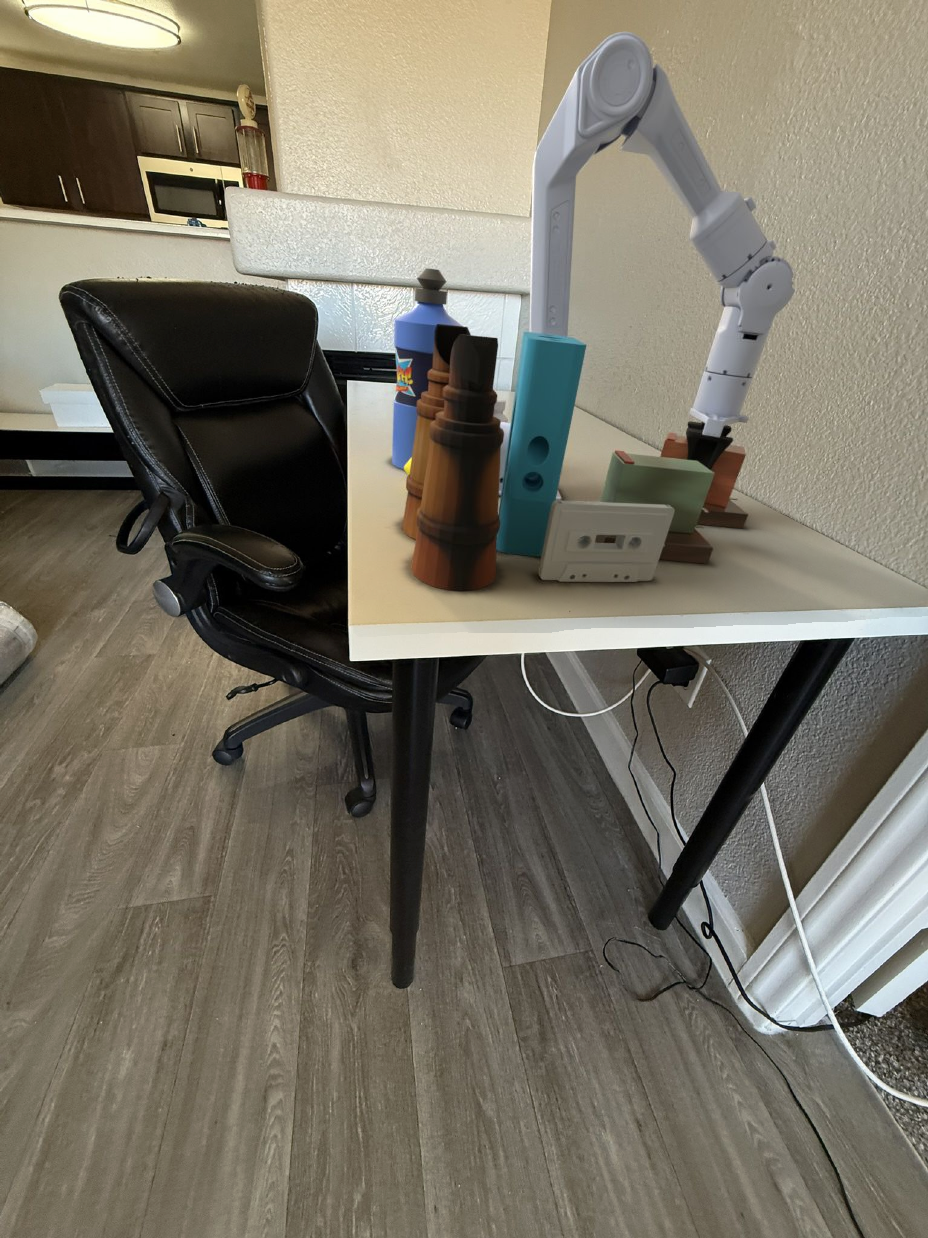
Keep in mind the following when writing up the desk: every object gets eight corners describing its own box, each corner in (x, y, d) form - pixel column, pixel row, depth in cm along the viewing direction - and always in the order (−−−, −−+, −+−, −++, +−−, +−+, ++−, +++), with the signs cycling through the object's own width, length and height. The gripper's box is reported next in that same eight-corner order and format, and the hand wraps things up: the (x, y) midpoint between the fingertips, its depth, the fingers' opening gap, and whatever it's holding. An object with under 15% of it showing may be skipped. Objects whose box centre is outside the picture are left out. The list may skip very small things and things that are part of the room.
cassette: (541, 582, 50) (556, 505, 46) (535, 573, 51) (549, 498, 47) (655, 583, 52) (679, 509, 48) (646, 574, 53) (669, 502, 49)
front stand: (721, 569, 57) (728, 551, 55) (593, 557, 56) (597, 538, 55) (677, 521, 69) (682, 506, 67) (571, 511, 68) (575, 495, 67)
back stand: (754, 532, 68) (761, 516, 67) (648, 521, 67) (653, 506, 66) (712, 497, 80) (717, 483, 79) (621, 488, 80) (625, 473, 78)
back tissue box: (725, 497, 73) (744, 445, 70) (726, 507, 69) (747, 452, 65) (653, 482, 76) (668, 431, 72) (649, 491, 72) (665, 438, 68)
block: (544, 564, 53) (588, 345, 43) (495, 558, 53) (527, 338, 43) (537, 522, 63) (571, 337, 53) (497, 517, 63) (523, 331, 53)
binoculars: (505, 590, 47) (544, 345, 37) (415, 591, 46) (430, 334, 35) (467, 516, 63) (487, 327, 52) (398, 514, 61) (405, 318, 50)
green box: (678, 518, 64) (698, 458, 60) (693, 533, 59) (715, 470, 56) (598, 510, 63) (613, 449, 59) (607, 525, 59) (624, 461, 55)
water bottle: (404, 474, 74) (412, 264, 61) (382, 456, 81) (385, 264, 68) (462, 471, 78) (481, 274, 65) (436, 454, 85) (449, 272, 72)
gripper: (768, 384, 58) (724, 502, 65) (758, 374, 69) (721, 475, 76) (702, 374, 60) (666, 490, 67) (702, 366, 71) (672, 465, 78)
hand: (692, 481), depth 72 cm, fingers closed on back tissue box, 5 cm apart
